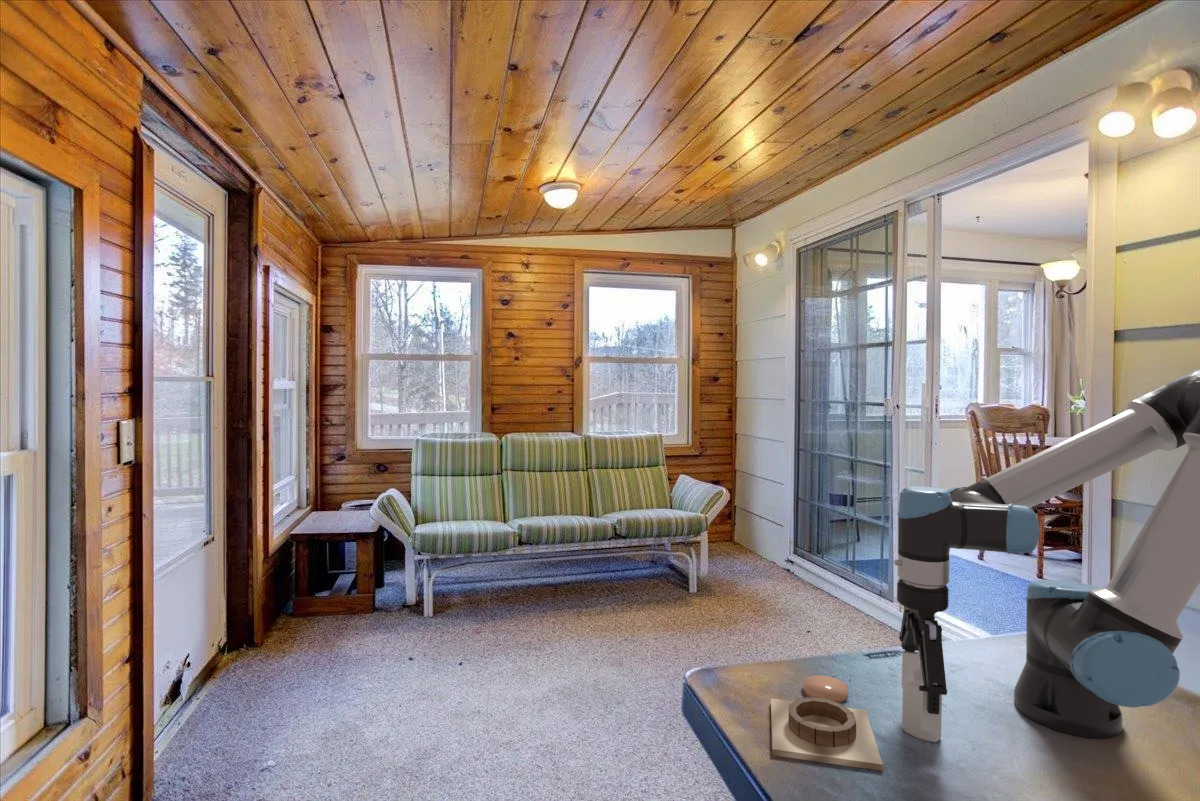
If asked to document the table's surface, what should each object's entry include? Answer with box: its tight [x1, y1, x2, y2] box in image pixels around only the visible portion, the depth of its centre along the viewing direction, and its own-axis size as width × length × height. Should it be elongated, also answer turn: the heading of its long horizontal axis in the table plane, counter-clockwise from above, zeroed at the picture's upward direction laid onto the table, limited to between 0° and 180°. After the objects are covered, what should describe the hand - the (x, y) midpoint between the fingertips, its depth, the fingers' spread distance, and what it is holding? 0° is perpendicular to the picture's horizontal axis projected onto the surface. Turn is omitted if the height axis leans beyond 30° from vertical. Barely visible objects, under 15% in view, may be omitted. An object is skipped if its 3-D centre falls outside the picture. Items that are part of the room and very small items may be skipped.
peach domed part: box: [802, 674, 849, 704], centre depth 116 cm, size 8×8×2 cm
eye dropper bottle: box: [901, 663, 942, 743], centre depth 102 cm, size 4×6×12 cm
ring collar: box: [770, 696, 884, 772], centre depth 102 cm, size 16×16×4 cm
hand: (920, 708), depth 102 cm, fingers open, 13 cm apart
